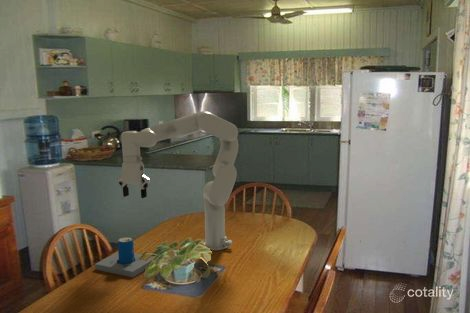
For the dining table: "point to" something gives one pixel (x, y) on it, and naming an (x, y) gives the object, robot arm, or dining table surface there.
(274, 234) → the dining table surface
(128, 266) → the socket board
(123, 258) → the beverage can
